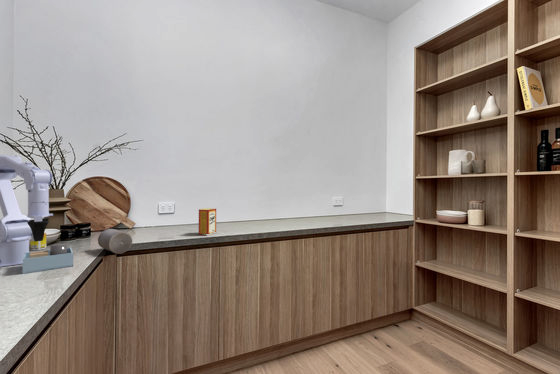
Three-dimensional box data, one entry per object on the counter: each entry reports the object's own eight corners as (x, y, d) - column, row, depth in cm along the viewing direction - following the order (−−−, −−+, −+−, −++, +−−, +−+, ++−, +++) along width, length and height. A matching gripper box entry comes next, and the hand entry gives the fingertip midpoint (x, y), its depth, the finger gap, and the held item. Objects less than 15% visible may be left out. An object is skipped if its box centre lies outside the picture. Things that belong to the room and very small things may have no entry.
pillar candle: (114, 251, 130) (128, 256, 121) (93, 245, 123) (106, 251, 114) (123, 231, 134) (137, 235, 124) (103, 225, 127) (116, 229, 117)
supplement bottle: (46, 247, 130) (46, 226, 130) (46, 249, 126) (46, 227, 126) (30, 249, 126) (30, 227, 126) (30, 251, 122) (30, 228, 122)
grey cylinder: (67, 263, 103) (67, 245, 103) (50, 265, 99) (50, 246, 100) (66, 260, 106) (66, 243, 107) (49, 263, 103) (49, 244, 103)
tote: (22, 273, 92) (22, 259, 92) (24, 265, 101) (24, 252, 101) (73, 266, 101) (73, 252, 101) (71, 259, 110) (71, 247, 110)
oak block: (48, 266, 99) (48, 252, 99) (29, 269, 96) (29, 255, 96) (48, 263, 103) (48, 250, 103) (30, 265, 100) (30, 252, 100)
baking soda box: (207, 232, 174) (207, 207, 174) (216, 233, 172) (216, 208, 172) (198, 235, 165) (198, 208, 165) (207, 235, 163) (208, 209, 163)
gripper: (53, 202, 96) (53, 240, 96) (52, 201, 107) (52, 235, 107) (25, 203, 91) (26, 243, 92) (28, 202, 102) (28, 237, 102)
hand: (38, 239), depth 99 cm, fingers open, 7 cm apart
